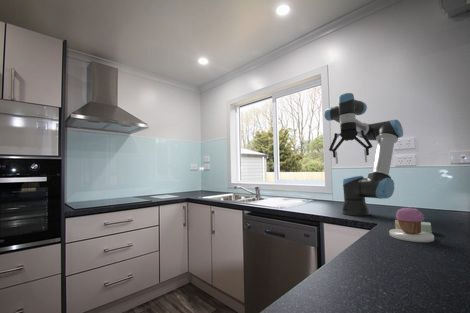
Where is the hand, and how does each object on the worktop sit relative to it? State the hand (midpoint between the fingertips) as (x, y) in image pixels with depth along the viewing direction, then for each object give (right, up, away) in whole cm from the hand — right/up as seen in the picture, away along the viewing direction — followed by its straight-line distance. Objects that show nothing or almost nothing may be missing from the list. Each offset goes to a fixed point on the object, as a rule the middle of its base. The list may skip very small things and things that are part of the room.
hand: (351, 163), depth 117 cm
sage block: (+19, -29, -23) cm, 42 cm away
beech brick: (+12, -29, -19) cm, 37 cm away
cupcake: (+9, -27, -28) cm, 40 cm away
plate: (+9, -28, -29) cm, 41 cm away
